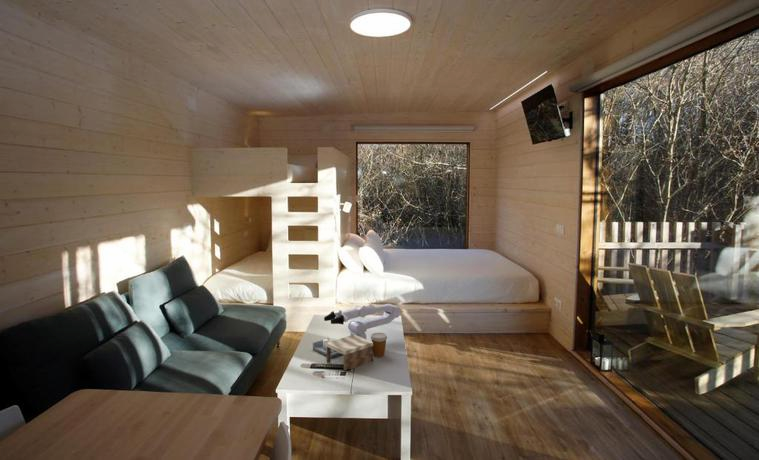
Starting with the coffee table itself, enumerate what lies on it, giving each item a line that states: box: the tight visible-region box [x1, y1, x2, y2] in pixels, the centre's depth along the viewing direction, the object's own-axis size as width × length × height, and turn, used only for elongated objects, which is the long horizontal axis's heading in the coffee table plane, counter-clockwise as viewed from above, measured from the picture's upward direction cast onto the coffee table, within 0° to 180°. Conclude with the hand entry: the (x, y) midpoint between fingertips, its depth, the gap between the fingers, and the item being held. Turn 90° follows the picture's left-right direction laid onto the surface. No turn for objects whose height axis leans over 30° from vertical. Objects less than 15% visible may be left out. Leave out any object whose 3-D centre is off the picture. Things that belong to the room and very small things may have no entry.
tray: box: [312, 337, 344, 359], centre depth 265 cm, size 11×18×6 cm, turn 42°
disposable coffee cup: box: [370, 332, 388, 358], centre depth 259 cm, size 10×10×12 cm
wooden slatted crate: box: [326, 334, 374, 371], centre depth 250 cm, size 20×16×11 cm
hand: (327, 320), depth 258 cm, fingers open, 7 cm apart
